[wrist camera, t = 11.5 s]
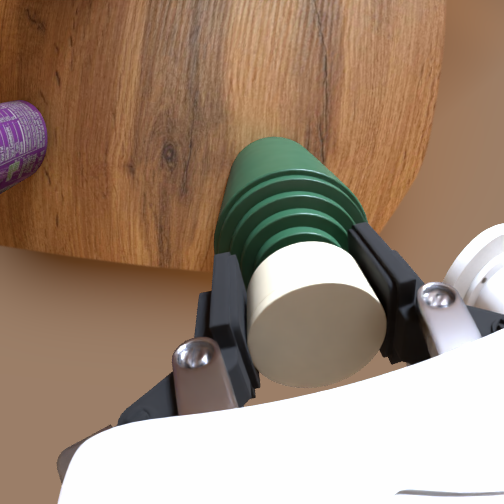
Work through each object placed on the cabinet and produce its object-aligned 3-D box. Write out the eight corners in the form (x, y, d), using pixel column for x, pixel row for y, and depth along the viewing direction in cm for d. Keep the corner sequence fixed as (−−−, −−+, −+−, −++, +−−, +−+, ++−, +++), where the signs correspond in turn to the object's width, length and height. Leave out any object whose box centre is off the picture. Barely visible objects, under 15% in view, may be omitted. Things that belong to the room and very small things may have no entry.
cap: (295, 216, 10) (309, 253, 7) (385, 278, 11) (413, 321, 8) (224, 309, 11) (219, 359, 9) (313, 353, 12) (324, 401, 10)
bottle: (335, 169, 24) (460, 292, 9) (285, 237, 27) (326, 418, 11) (261, 119, 23) (288, 160, 7) (212, 194, 25) (158, 354, 10)
